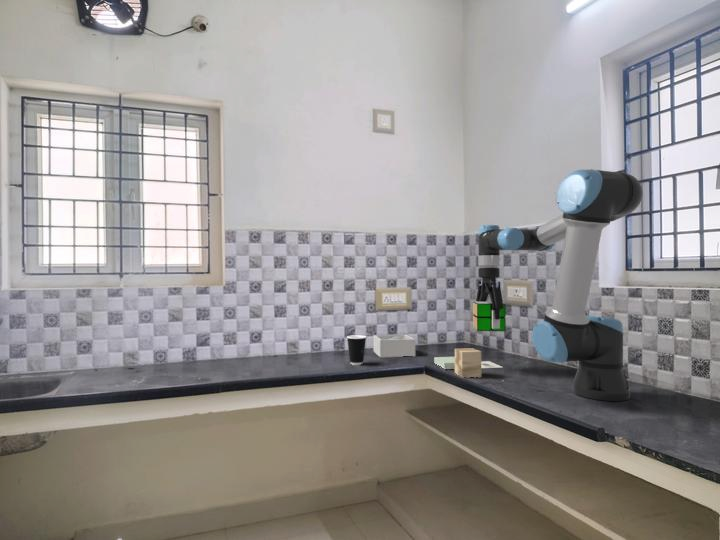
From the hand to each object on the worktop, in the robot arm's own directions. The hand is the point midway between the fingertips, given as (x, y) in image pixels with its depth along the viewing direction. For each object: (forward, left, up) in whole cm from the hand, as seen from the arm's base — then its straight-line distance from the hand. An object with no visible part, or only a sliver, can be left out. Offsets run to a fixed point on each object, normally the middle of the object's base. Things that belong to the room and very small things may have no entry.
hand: (488, 326), depth 163 cm
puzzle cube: (0, 0, -1) cm, 1 cm away
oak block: (-5, +10, -17) cm, 20 cm away
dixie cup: (+21, +46, -17) cm, 54 cm away
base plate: (+11, +9, -17) cm, 22 cm away
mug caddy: (+41, +26, -17) cm, 51 cm away
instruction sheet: (+11, -4, -17) cm, 20 cm away
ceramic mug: (+40, +25, -17) cm, 50 cm away
